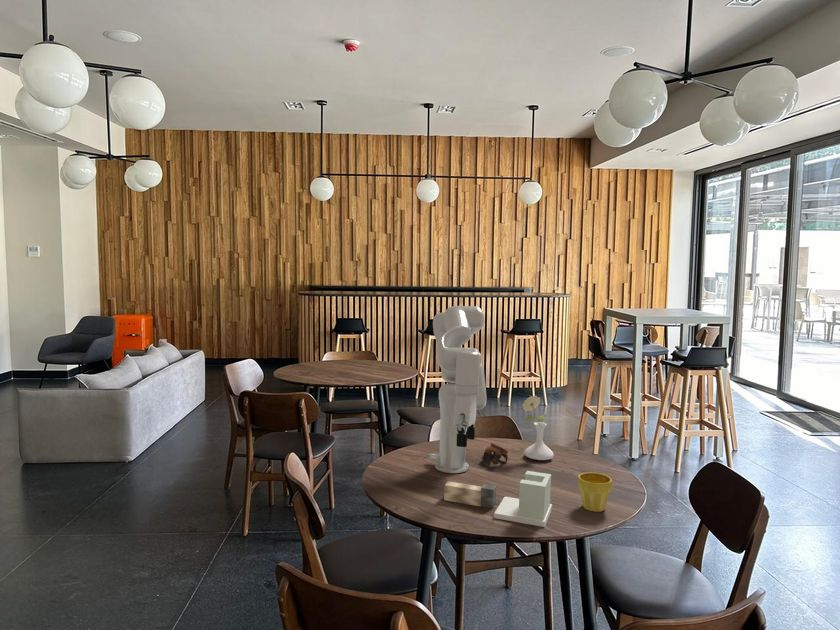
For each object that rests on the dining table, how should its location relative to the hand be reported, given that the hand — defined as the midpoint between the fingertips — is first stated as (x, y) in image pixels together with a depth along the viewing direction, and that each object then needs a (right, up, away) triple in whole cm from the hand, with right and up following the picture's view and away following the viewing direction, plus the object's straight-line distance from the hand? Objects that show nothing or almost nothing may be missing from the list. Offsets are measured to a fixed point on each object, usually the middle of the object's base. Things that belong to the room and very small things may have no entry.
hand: (465, 442), depth 192 cm
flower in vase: (+31, -16, +44) cm, 56 cm away
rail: (+1, -19, -1) cm, 19 cm away
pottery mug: (+14, -16, +37) cm, 43 cm away
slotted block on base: (+17, -20, -8) cm, 27 cm away
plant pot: (+40, -20, -3) cm, 45 cm away
